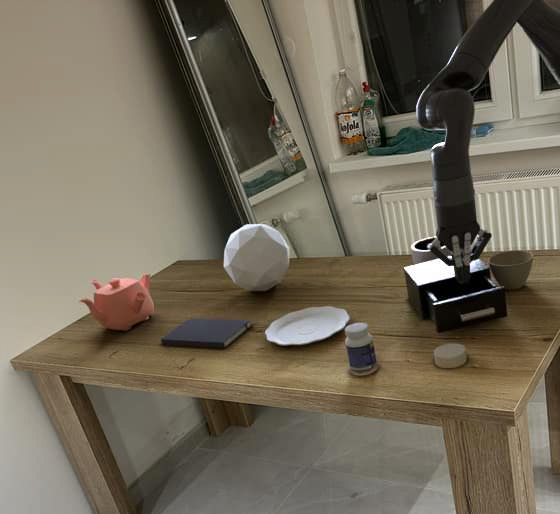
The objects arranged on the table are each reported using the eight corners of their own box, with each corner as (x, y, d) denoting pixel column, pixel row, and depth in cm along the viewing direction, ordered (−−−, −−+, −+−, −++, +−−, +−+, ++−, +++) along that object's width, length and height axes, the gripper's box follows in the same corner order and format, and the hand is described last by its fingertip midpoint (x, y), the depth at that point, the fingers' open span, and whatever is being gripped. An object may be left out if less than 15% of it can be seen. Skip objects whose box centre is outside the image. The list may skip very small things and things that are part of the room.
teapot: (93, 342, 194) (76, 298, 188) (105, 318, 211) (89, 276, 205) (154, 327, 193) (139, 282, 187) (161, 304, 210) (147, 262, 204)
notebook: (162, 344, 181) (225, 348, 169) (160, 339, 180) (223, 342, 169) (190, 323, 190) (252, 325, 178) (189, 318, 189) (250, 319, 178)
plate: (254, 351, 163) (252, 345, 163) (284, 314, 180) (283, 308, 179) (335, 349, 155) (334, 342, 154) (360, 309, 171) (358, 303, 170)
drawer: (516, 325, 143) (514, 295, 140) (444, 342, 143) (440, 313, 140) (487, 297, 158) (484, 269, 155) (422, 312, 159) (418, 286, 156)
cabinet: (493, 302, 157) (489, 268, 153) (422, 319, 158) (417, 285, 154) (473, 283, 169) (470, 251, 165) (408, 299, 170) (403, 267, 166)
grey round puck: (461, 350, 140) (459, 340, 139) (470, 363, 135) (469, 353, 134) (431, 358, 141) (430, 347, 140) (440, 371, 135) (438, 360, 134)
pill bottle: (381, 371, 140) (373, 328, 136) (354, 379, 140) (346, 336, 136) (373, 360, 145) (365, 318, 141) (348, 367, 145) (339, 326, 141)
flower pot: (534, 292, 157) (532, 263, 154) (489, 295, 161) (486, 267, 158) (535, 275, 165) (533, 247, 162) (492, 279, 169) (489, 252, 166)
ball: (252, 312, 205) (202, 268, 203) (291, 267, 212) (243, 223, 209) (271, 295, 187) (216, 246, 185) (313, 246, 194) (261, 198, 191)
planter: (408, 286, 177) (403, 251, 173) (425, 270, 184) (421, 236, 180) (448, 287, 171) (443, 251, 166) (464, 270, 178) (460, 235, 174)
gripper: (481, 186, 134) (489, 268, 141) (415, 202, 134) (426, 283, 142) (495, 194, 127) (502, 280, 135) (425, 211, 127) (436, 295, 135)
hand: (463, 282), depth 138 cm, fingers closed
